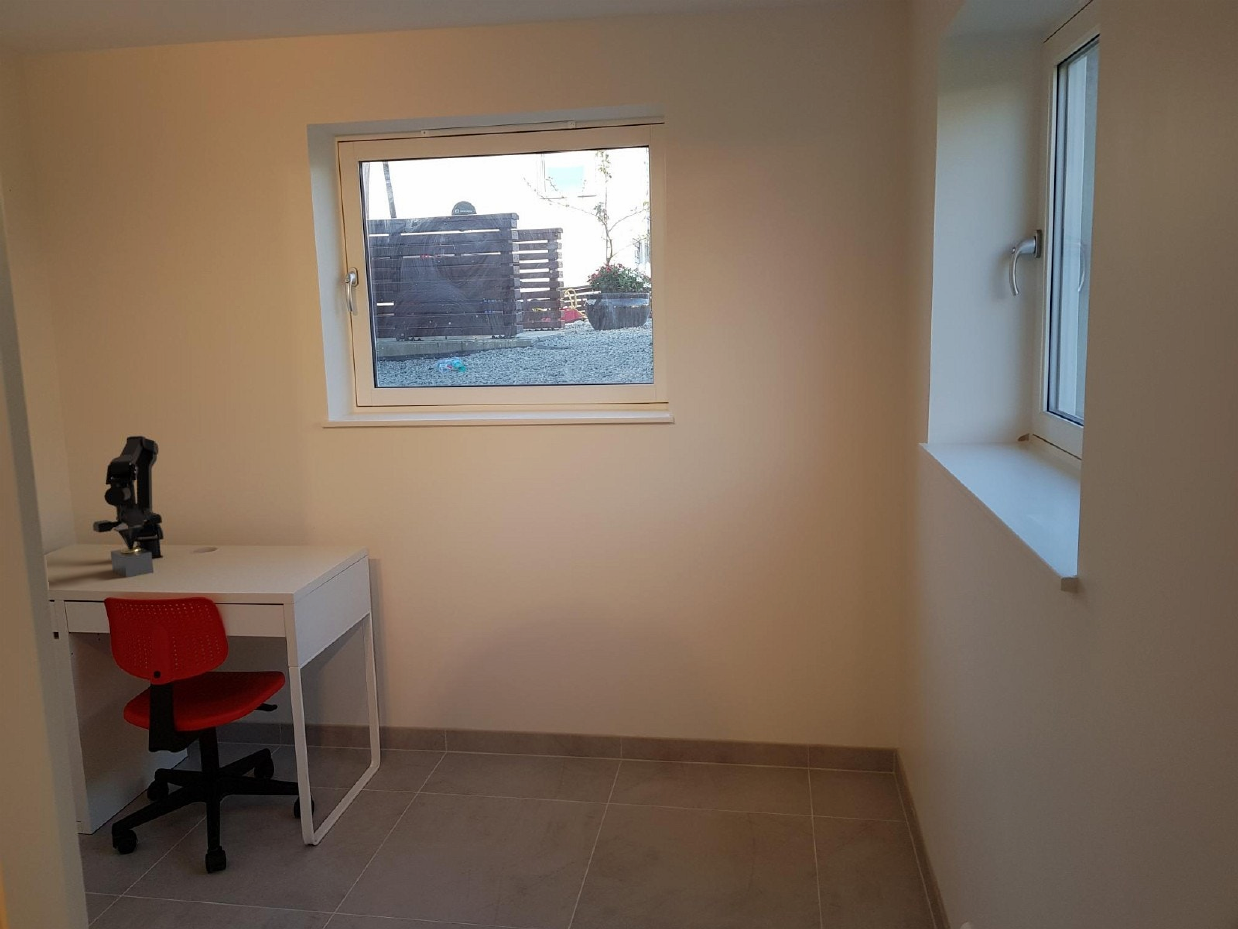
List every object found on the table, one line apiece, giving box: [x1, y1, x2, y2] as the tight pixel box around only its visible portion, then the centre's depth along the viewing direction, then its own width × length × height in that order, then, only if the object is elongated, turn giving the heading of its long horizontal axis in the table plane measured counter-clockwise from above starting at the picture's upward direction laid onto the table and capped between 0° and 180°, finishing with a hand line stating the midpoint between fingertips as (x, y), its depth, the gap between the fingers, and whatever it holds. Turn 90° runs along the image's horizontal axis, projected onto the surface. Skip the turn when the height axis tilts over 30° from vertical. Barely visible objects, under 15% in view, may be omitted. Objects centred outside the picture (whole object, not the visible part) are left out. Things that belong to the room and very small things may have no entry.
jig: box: [110, 548, 154, 578], centre depth 311 cm, size 8×12×6 cm, turn 45°
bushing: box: [120, 546, 141, 554], centre depth 311 cm, size 6×6×7 cm
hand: (130, 549), depth 310 cm, fingers closed, pressing on bushing
